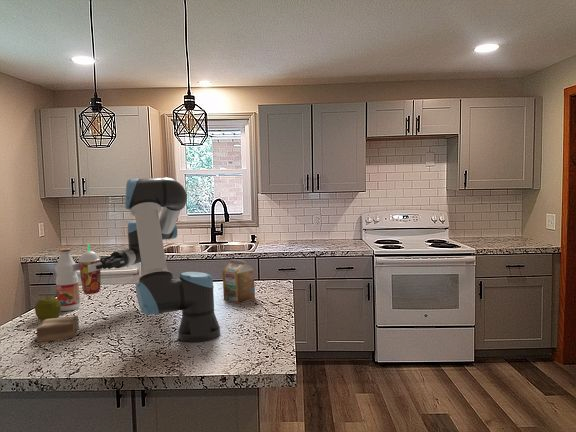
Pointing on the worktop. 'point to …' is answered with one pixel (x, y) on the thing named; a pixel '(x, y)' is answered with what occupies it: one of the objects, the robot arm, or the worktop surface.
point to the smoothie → (89, 279)
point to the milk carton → (238, 282)
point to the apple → (48, 308)
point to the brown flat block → (57, 328)
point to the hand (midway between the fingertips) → (80, 268)
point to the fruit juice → (67, 282)
